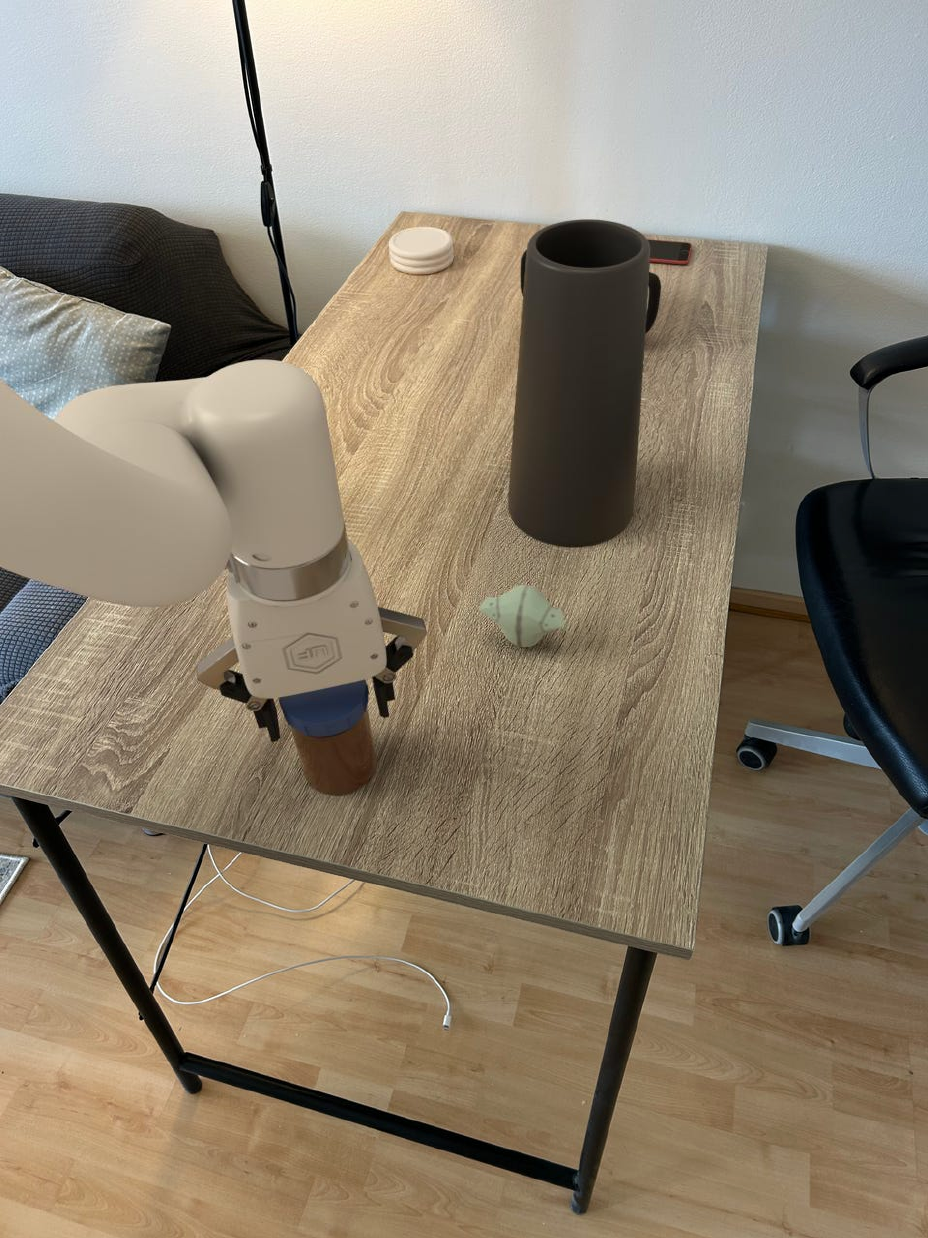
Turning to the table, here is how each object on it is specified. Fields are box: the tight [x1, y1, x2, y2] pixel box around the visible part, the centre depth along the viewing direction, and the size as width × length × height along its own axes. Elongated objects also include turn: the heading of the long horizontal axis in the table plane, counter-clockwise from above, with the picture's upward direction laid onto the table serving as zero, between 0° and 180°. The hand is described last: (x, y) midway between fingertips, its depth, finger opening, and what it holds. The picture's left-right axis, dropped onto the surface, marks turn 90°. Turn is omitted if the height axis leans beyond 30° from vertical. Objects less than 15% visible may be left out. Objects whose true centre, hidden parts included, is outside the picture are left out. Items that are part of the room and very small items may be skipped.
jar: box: [289, 706, 378, 796], centre depth 72 cm, size 6×6×9 cm
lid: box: [278, 679, 370, 737], centre depth 69 cm, size 7×7×2 cm
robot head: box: [477, 584, 565, 648], centre depth 82 cm, size 8×4×7 cm, turn 73°
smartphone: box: [646, 238, 693, 265], centre depth 139 cm, size 7×1×14 cm
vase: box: [507, 218, 651, 548], centre depth 88 cm, size 14×14×29 cm
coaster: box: [388, 226, 455, 276], centre depth 139 cm, size 10×10×4 cm
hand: (328, 714), depth 71 cm, fingers open, 8 cm apart
